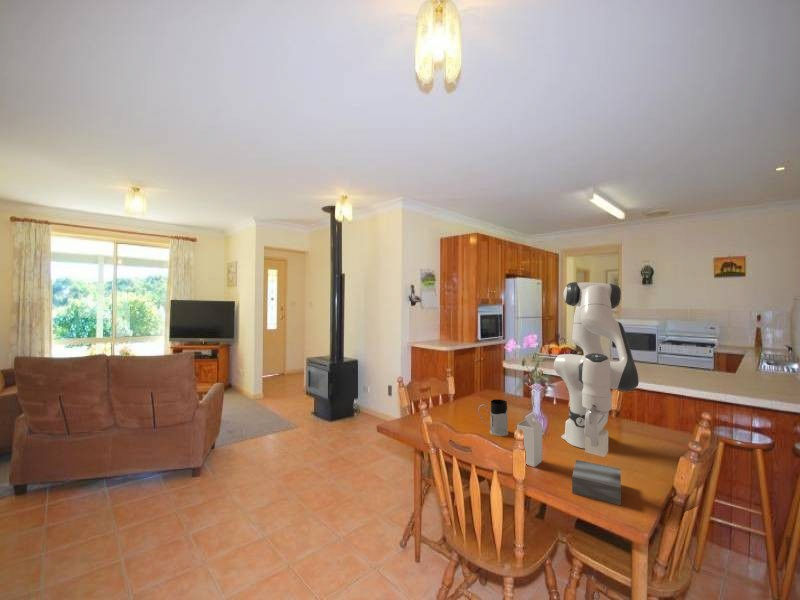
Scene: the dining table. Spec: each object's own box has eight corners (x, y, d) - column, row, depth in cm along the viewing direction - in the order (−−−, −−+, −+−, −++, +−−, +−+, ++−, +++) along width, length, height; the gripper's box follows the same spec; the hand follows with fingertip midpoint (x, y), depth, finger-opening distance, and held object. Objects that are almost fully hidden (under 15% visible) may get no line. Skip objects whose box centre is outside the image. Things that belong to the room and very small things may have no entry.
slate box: (576, 475, 133) (576, 459, 133) (620, 485, 126) (620, 468, 126) (572, 494, 121) (572, 476, 121) (621, 506, 114) (620, 487, 114)
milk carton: (517, 461, 144) (516, 414, 143) (525, 455, 149) (525, 410, 148) (534, 467, 139) (533, 418, 138) (542, 461, 144) (541, 414, 143)
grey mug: (511, 436, 169) (510, 404, 169) (480, 436, 169) (480, 405, 169) (505, 428, 178) (505, 398, 178) (476, 429, 178) (476, 399, 178)
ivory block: (588, 446, 127) (588, 426, 127) (608, 450, 124) (608, 430, 123) (585, 452, 123) (585, 431, 123) (605, 457, 119) (605, 436, 119)
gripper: (601, 412, 113) (601, 455, 113) (612, 397, 129) (612, 435, 129) (579, 408, 117) (579, 450, 117) (592, 394, 133) (592, 431, 133)
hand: (596, 442), depth 123 cm, fingers closed on ivory block, 6 cm apart
